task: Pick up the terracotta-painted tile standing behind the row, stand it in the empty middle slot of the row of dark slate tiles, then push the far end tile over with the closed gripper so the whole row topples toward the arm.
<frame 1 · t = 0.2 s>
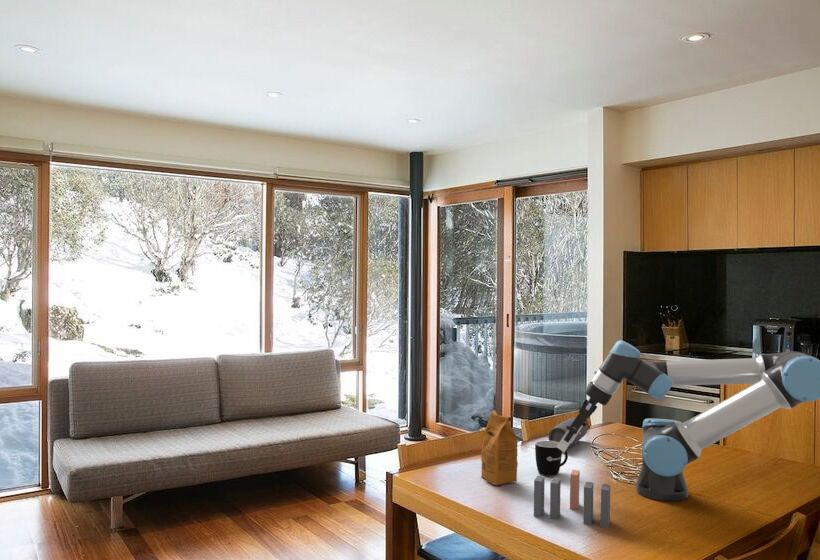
hand: (564, 444, 198), 16 cm above the table, tool tilted 30°, fingers open, 13 cm apart
domino 2: (588, 521, 177), on the table
domino 1: (605, 523, 175), on the table
coffee package: (498, 480, 212), on the table
bluetooth speaker: (568, 446, 256), on the table
mug: (552, 473, 220), on the table
domino 5: (539, 513, 182), on the table
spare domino: (574, 506, 188), on the table
domino 4: (555, 516, 180), on the table
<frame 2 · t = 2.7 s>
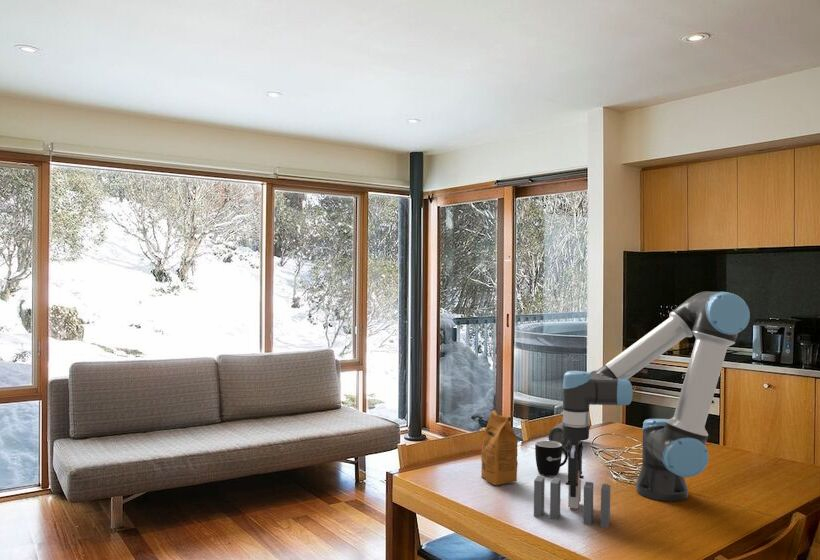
hand: (574, 503, 188), 1 cm above the table, tool pointing down, fingers closed on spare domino, 5 cm apart
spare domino: (574, 506, 188), on the table, touching gripper
everything else where it was.
when the fingers open (1 cm above the table, at t = 7.5 s): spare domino stays where it is, on the table.
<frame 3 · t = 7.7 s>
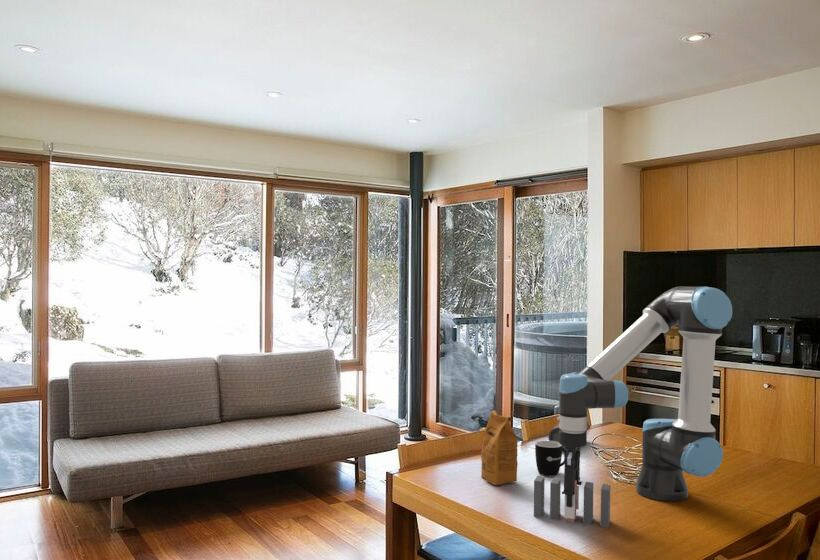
hand: (571, 512, 179), 2 cm above the table, tool pointing down, fingers open, 7 cm apart
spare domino: (571, 518, 179), on the table
everything else where it was.
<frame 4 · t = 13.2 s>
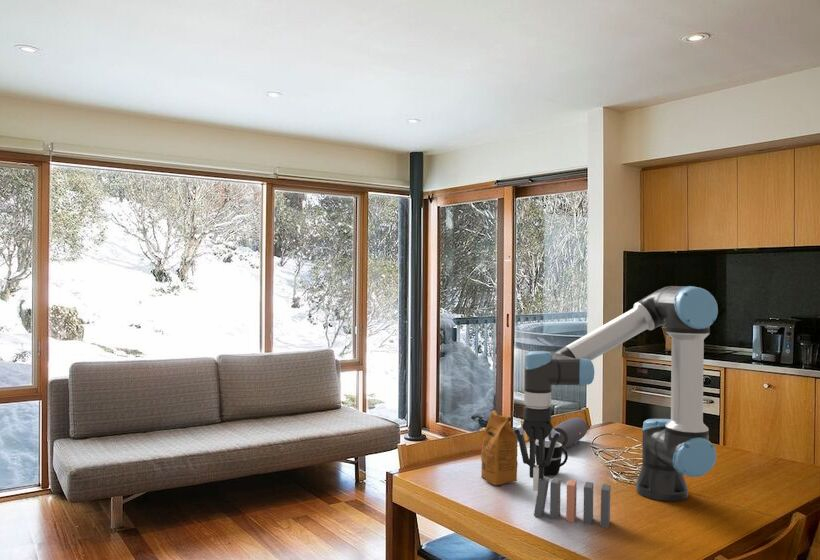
hand: (536, 489, 182), 7 cm above the table, tool pointing down, fingers closed
domino 5: (539, 513, 182), on the table, tilted 8°, touching gripper
everything else where it was.
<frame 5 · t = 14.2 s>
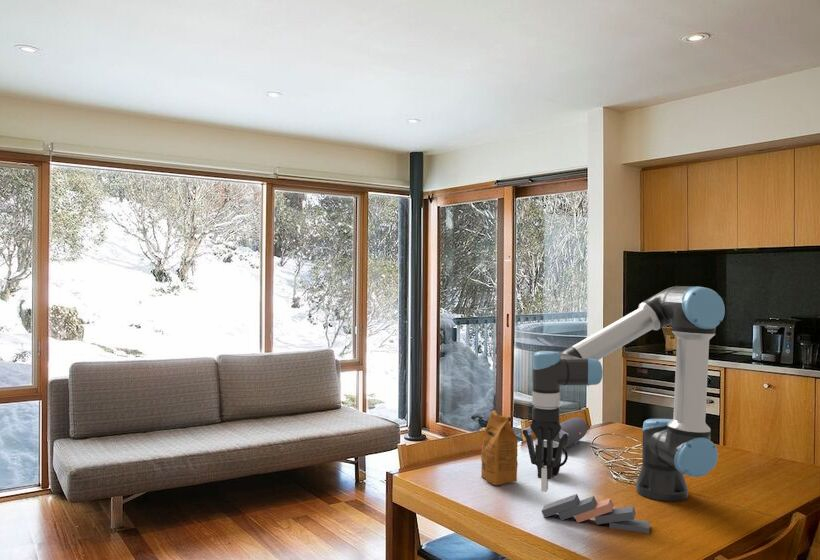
hand: (544, 490, 181), 7 cm above the table, tool pointing down, fingers closed
domino 2: (596, 517, 176), point 1 cm above the table, tilted 74°, touching domino 1, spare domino
domino 1: (610, 523, 175), on the table, tilted 90°, touching domino 2
domino 5: (544, 511, 181), point 1 cm above the table, tilted 63°, touching domino 4
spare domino: (577, 516, 178), point 1 cm above the table, tilted 63°, touching domino 2, domino 4
domino 4: (561, 513, 180), point 1 cm above the table, tilted 63°, touching domino 5, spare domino
everything else where it was.
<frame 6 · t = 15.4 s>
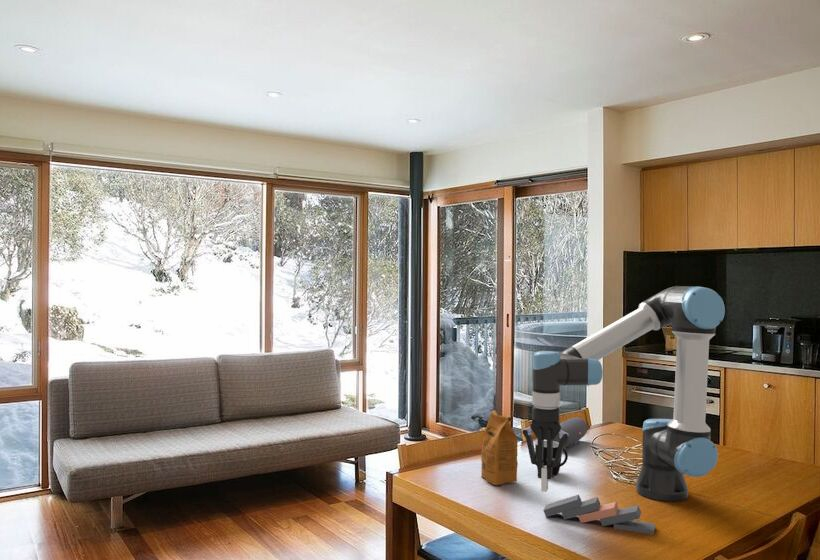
hand: (544, 490, 181), 7 cm above the table, tool pointing down, fingers closed
domino 2: (602, 519, 176), point 1 cm above the table, tilted 69°, touching domino 1
domino 1: (614, 524, 174), on the table, tilted 90°, touching domino 2
domino 5: (545, 510, 182), point 1 cm above the table, tilted 66°
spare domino: (580, 516, 178), point 1 cm above the table, tilted 68°, touching domino 4
domino 4: (564, 513, 180), point 1 cm above the table, tilted 66°, touching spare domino
everything else where it was.
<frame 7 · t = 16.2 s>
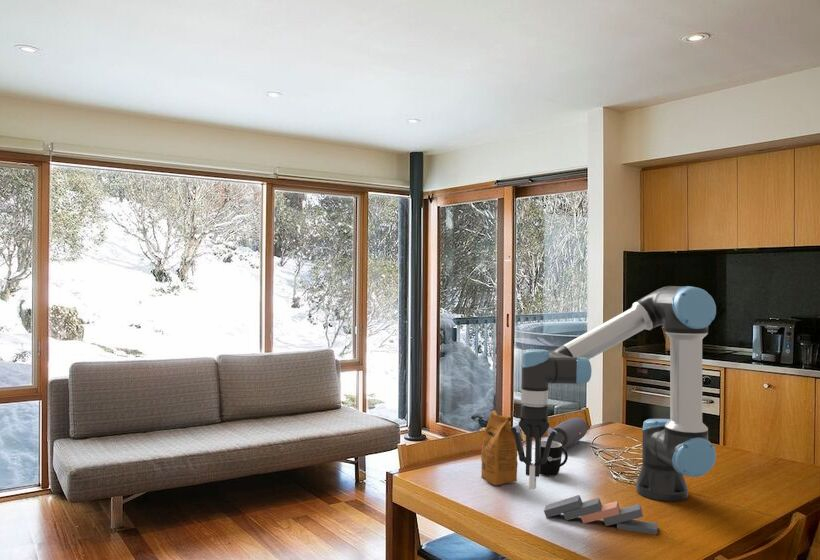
hand: (532, 487, 182), 7 cm above the table, tool pointing down, fingers closed
domino 2: (604, 519, 176), point 1 cm above the table, tilted 69°
domino 1: (617, 524, 174), on the table, tilted 90°
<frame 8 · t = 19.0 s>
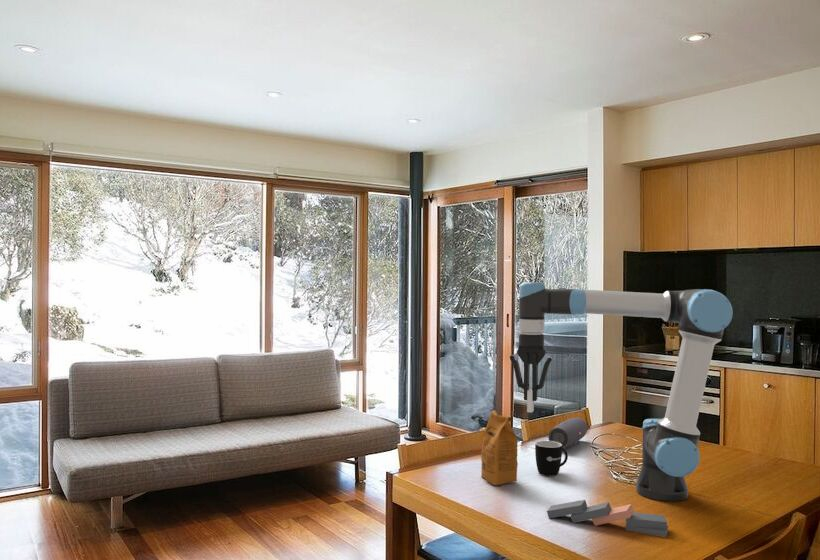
hand: (530, 411, 194), 26 cm above the table, tool pointing down, fingers closed
domino 2: (625, 518, 173), point 2 cm above the table, tilted 90°, touching domino 1, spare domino
domino 1: (627, 525, 173), on the table, tilted 90°, touching domino 2
domino 5: (550, 511, 181), point 1 cm above the table, tilted 71°, touching domino 4
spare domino: (595, 518, 176), point 1 cm above the table, tilted 66°, touching domino 2, domino 4
domino 4: (573, 516, 178), point 1 cm above the table, tilted 67°, touching domino 5, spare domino
everything else where it was.
at the end: domino 1 tilted 90°; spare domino tilted 66°; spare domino inside the target area (6.5 cm from its centre), point 1.0 cm above the table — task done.
